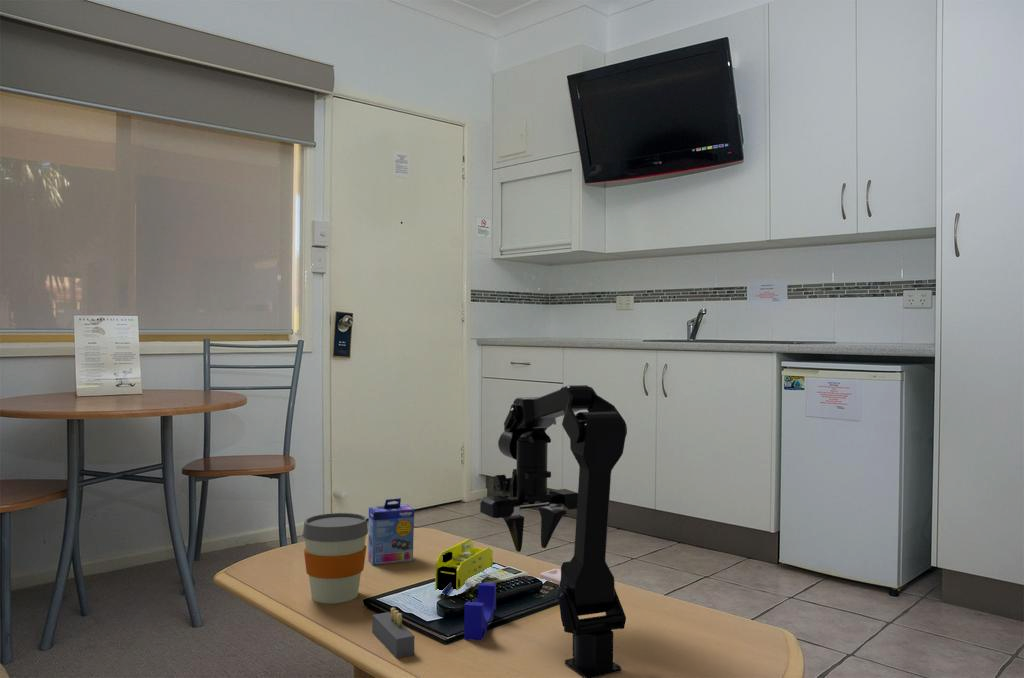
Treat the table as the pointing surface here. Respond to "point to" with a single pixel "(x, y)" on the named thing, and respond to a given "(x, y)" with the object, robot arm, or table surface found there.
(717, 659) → the table surface
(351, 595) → the reusable coffee cup
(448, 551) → the yellow toy chassis
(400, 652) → the header strip
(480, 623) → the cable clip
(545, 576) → the soap bar
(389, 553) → the ink cartridge box
